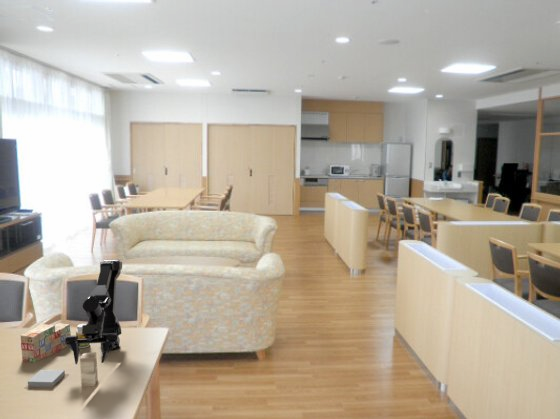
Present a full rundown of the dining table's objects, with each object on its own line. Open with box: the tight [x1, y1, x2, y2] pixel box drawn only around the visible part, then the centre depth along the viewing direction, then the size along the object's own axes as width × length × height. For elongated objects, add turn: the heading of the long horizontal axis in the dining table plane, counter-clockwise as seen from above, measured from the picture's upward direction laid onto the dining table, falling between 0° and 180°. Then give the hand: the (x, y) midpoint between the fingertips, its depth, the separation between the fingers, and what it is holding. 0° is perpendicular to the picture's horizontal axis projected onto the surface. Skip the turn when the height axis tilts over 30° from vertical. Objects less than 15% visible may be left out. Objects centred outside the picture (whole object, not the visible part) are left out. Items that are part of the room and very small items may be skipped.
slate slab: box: [27, 369, 66, 387], centre depth 175 cm, size 9×9×2 cm
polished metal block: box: [79, 351, 98, 388], centre depth 173 cm, size 4×4×12 cm
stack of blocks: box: [20, 322, 72, 363], centre depth 200 cm, size 21×6×12 cm, turn 165°
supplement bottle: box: [75, 323, 91, 349], centre depth 207 cm, size 5×5×10 cm
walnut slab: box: [24, 373, 70, 390], centre depth 175 cm, size 11×11×2 cm
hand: (89, 363), depth 173 cm, fingers open, 9 cm apart
